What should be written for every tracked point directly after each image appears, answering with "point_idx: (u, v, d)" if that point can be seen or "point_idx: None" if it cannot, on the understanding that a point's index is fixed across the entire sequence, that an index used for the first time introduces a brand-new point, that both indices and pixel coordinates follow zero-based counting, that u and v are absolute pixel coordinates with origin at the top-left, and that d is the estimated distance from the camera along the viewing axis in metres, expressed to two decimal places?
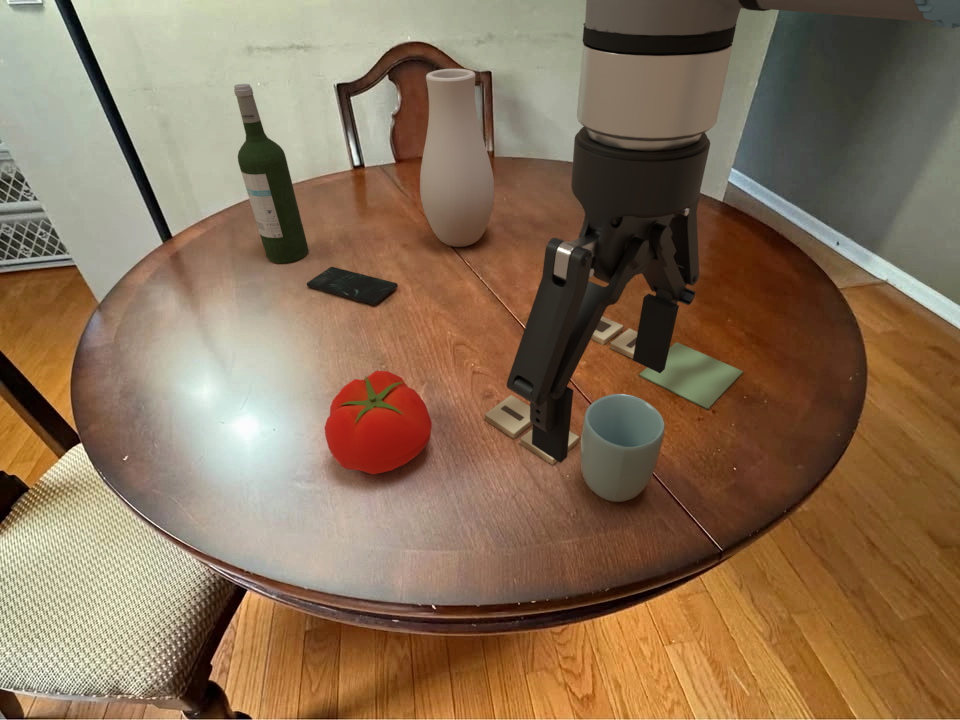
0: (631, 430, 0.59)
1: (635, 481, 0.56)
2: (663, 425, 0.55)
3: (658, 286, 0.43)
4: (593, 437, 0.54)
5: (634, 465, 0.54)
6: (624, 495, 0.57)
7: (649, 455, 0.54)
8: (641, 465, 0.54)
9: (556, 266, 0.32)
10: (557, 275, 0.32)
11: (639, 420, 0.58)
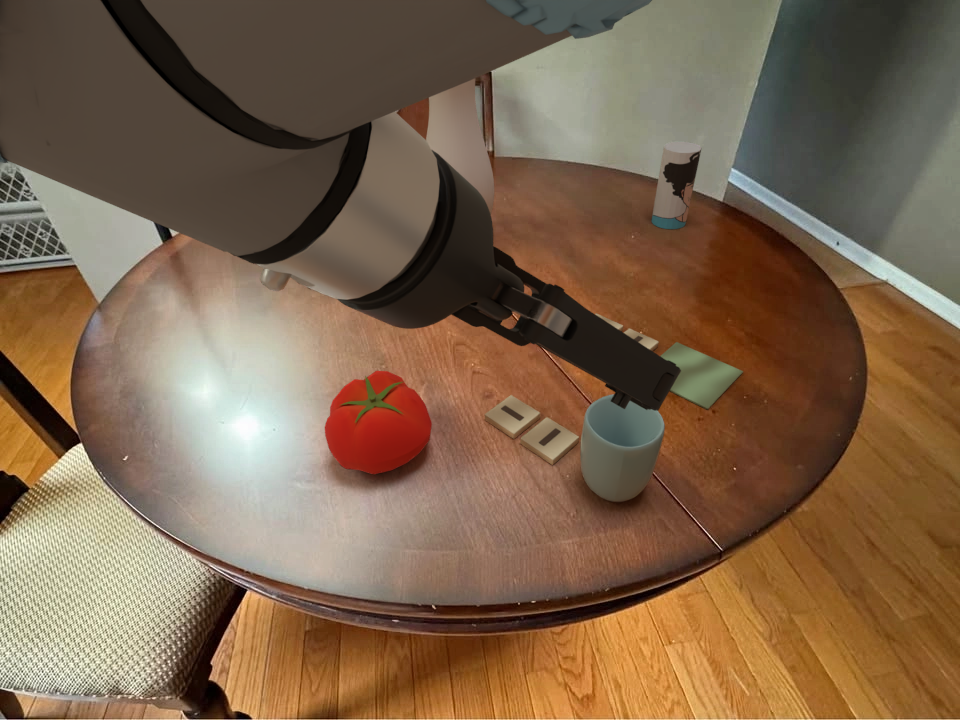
0: (631, 430, 0.59)
1: (635, 481, 0.56)
2: (663, 425, 0.55)
3: None
4: (593, 437, 0.54)
5: (634, 465, 0.54)
6: (624, 495, 0.57)
7: (649, 455, 0.54)
8: (641, 465, 0.54)
9: (558, 330, 0.24)
10: (565, 331, 0.25)
11: (639, 420, 0.58)
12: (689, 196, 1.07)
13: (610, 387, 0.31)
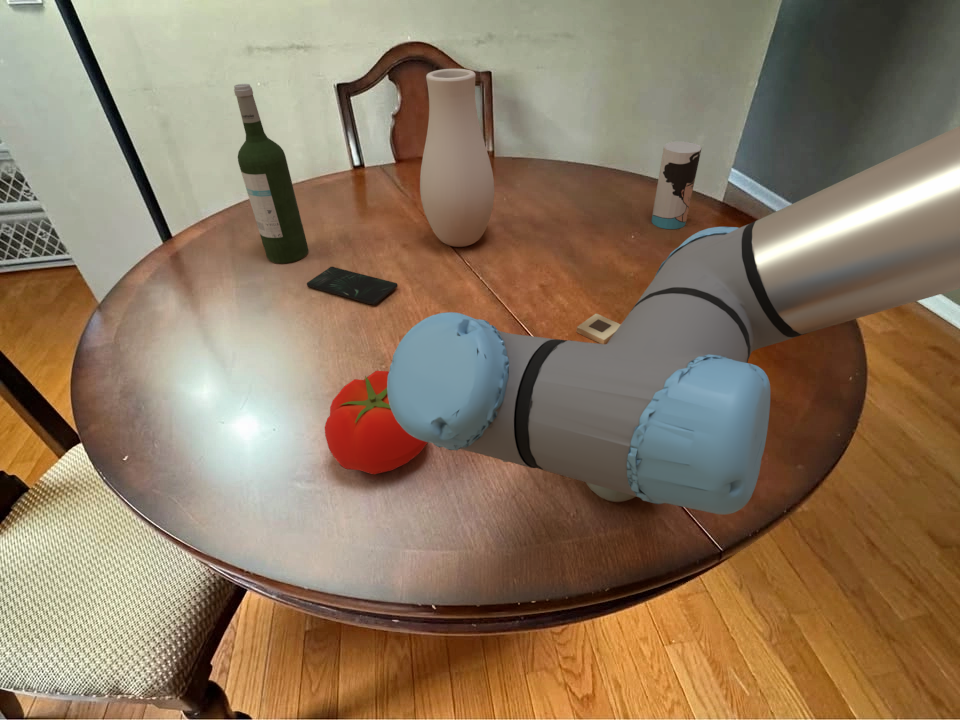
0: None
1: None
2: None
3: None
4: None
5: None
6: (624, 495, 0.57)
7: None
8: None
9: None
10: None
11: None
12: (689, 196, 1.07)
13: None
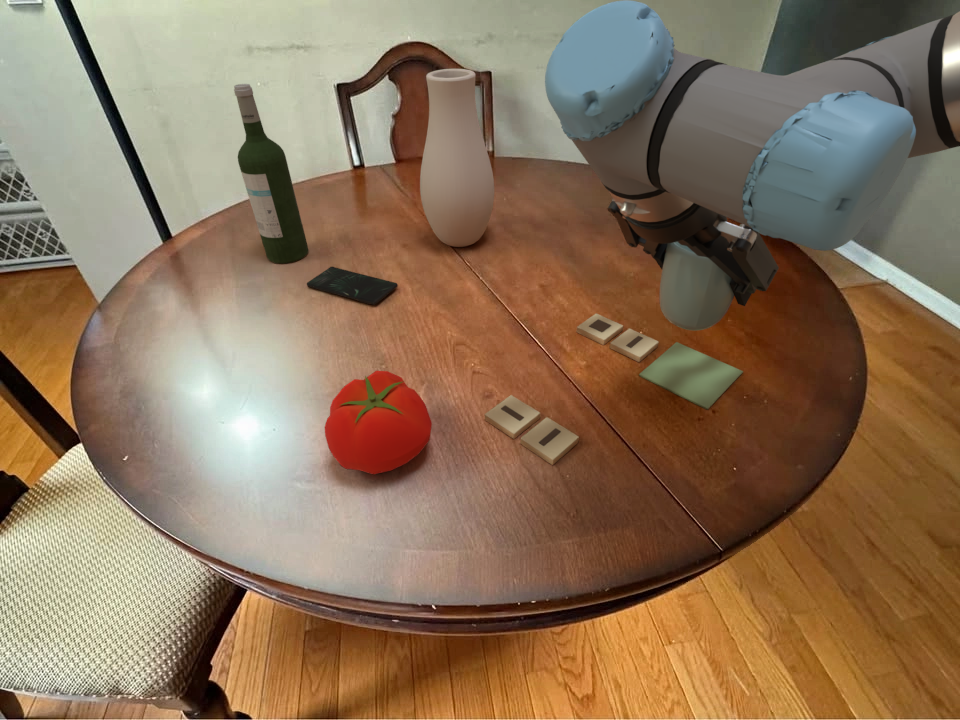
0: None
1: (719, 299, 0.57)
2: None
3: None
4: (681, 252, 0.56)
5: (721, 278, 0.56)
6: (706, 318, 0.59)
7: None
8: (727, 280, 0.56)
9: (751, 245, 0.46)
10: (751, 246, 0.47)
11: None
12: None
13: (733, 283, 0.55)
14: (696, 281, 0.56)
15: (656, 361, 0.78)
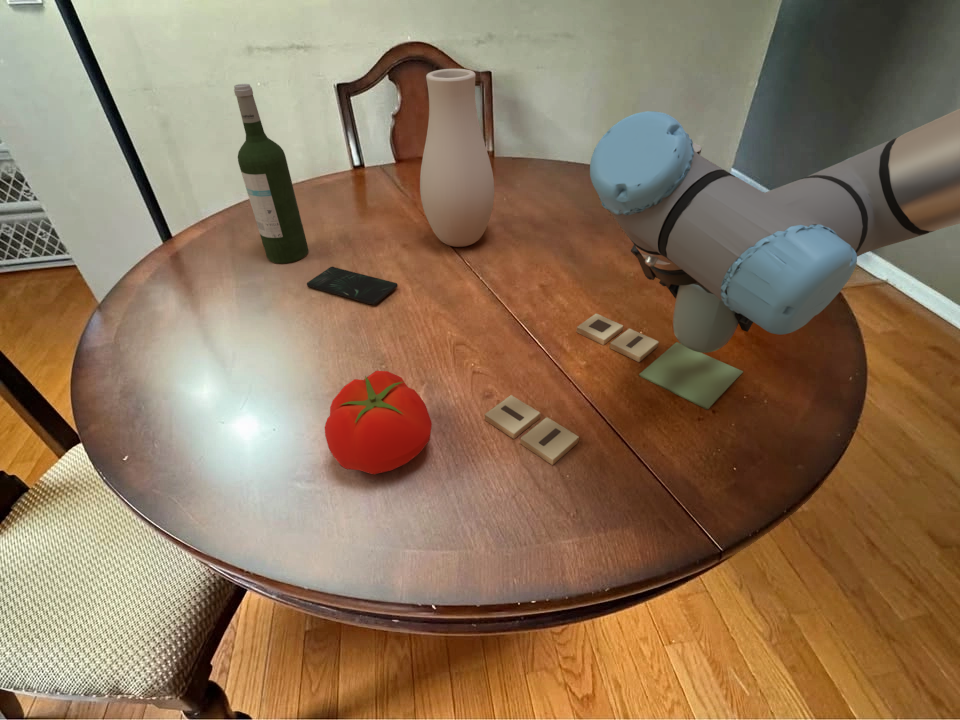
0: None
1: (726, 327, 0.66)
2: None
3: None
4: (693, 287, 0.65)
5: (727, 310, 0.65)
6: (714, 342, 0.68)
7: None
8: (732, 311, 0.65)
9: None
10: None
11: None
12: None
13: (737, 314, 0.64)
14: (706, 312, 0.65)
15: (656, 361, 0.78)
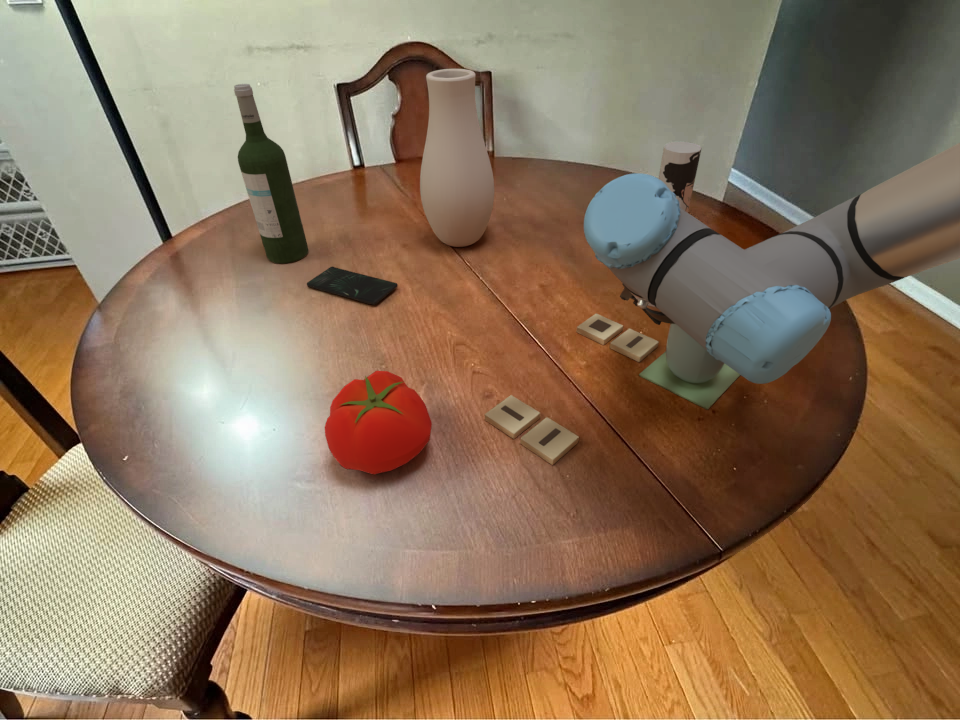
0: None
1: (716, 360, 0.69)
2: None
3: None
4: None
5: None
6: (705, 374, 0.71)
7: None
8: None
9: None
10: None
11: None
12: (689, 196, 1.07)
13: None
14: (696, 346, 0.68)
15: (656, 361, 0.78)
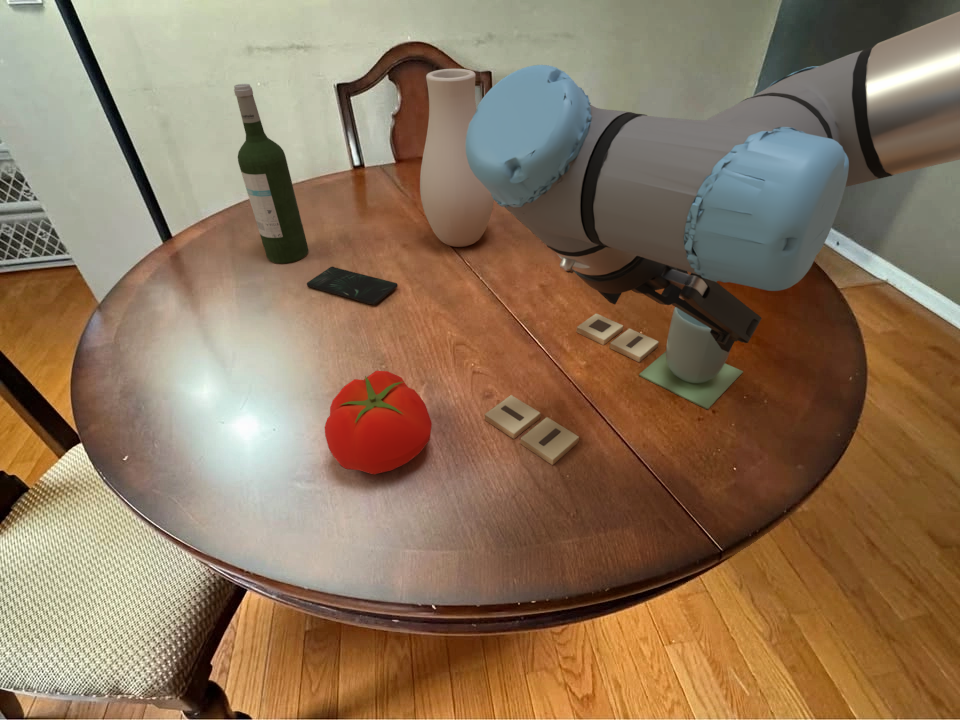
0: None
1: (716, 360, 0.69)
2: None
3: None
4: (684, 323, 0.68)
5: (717, 345, 0.68)
6: (705, 374, 0.71)
7: None
8: None
9: (701, 292, 0.44)
10: (703, 293, 0.45)
11: None
12: None
13: (713, 332, 0.51)
14: (696, 346, 0.68)
15: (656, 361, 0.78)
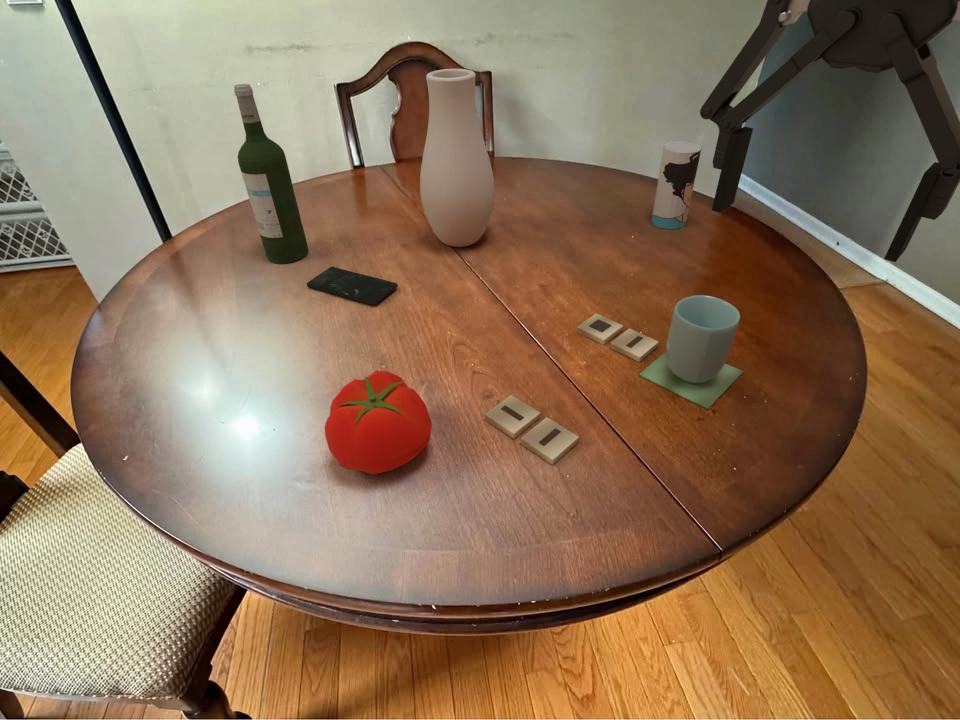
0: (709, 324, 0.73)
1: (716, 360, 0.69)
2: (739, 314, 0.69)
3: (753, 112, 0.44)
4: (684, 323, 0.68)
5: (717, 345, 0.68)
6: (705, 374, 0.71)
7: (729, 337, 0.68)
8: (721, 346, 0.68)
9: None
10: None
11: (716, 315, 0.72)
12: (689, 196, 1.07)
13: (930, 173, 0.37)
14: (696, 346, 0.68)
15: (656, 361, 0.78)
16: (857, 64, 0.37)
